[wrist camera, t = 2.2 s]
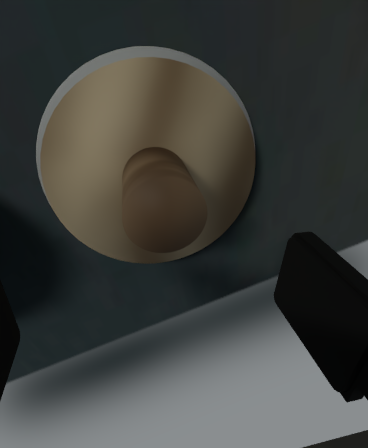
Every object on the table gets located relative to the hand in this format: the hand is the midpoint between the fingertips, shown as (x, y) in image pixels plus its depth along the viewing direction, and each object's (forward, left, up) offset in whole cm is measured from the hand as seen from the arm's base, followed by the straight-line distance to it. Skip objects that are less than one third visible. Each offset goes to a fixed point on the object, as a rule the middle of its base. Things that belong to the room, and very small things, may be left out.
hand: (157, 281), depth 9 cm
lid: (-1, 0, -11) cm, 10 cm away
